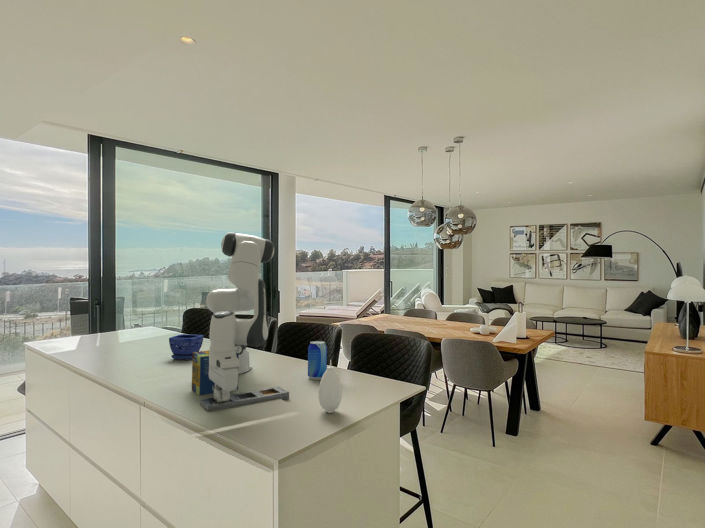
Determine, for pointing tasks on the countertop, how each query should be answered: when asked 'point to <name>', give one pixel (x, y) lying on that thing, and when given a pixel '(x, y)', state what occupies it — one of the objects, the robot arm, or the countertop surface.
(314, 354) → the beer can
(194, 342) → the flower pot
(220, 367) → the robot arm
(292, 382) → the countertop surface
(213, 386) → the protein box
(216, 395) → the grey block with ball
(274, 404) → the countertop surface
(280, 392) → the grey compartment tray
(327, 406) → the white teardrop vase
